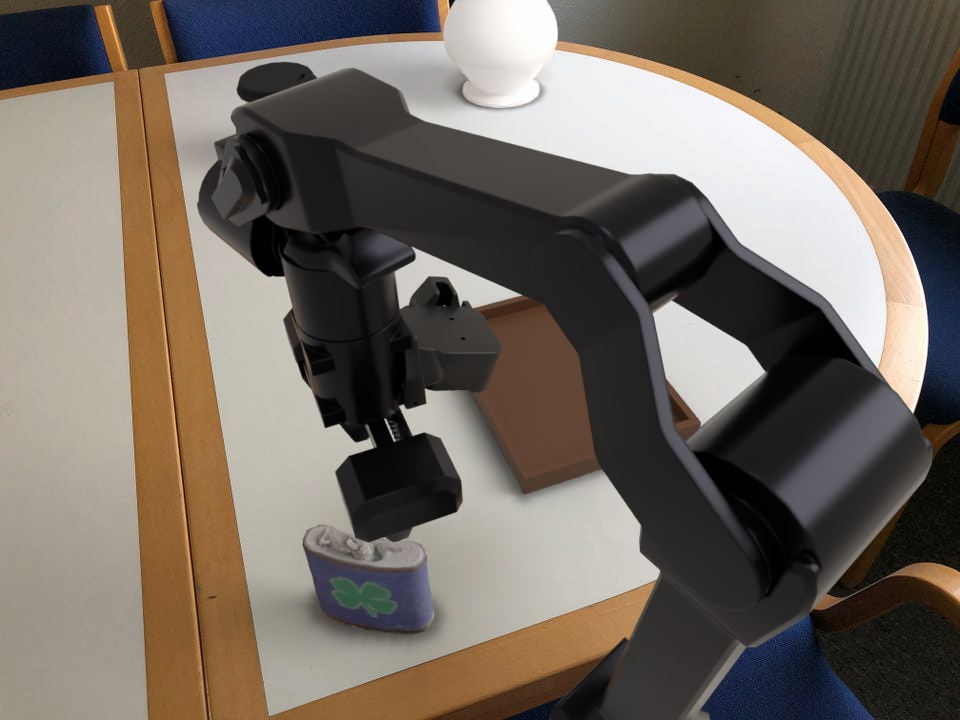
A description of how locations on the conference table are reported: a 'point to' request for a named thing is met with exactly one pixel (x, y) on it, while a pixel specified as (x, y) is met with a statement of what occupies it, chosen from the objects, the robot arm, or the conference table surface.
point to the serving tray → (544, 398)
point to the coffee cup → (272, 79)
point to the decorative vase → (500, 48)
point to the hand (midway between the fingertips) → (379, 485)
